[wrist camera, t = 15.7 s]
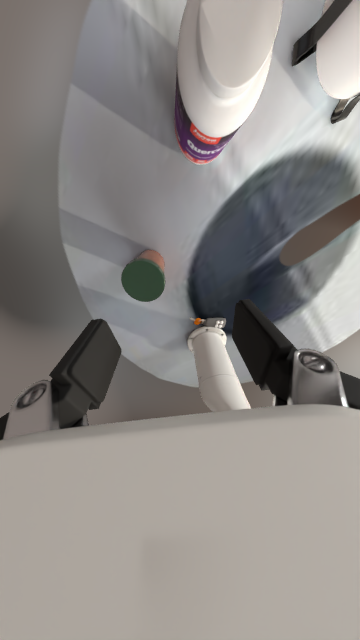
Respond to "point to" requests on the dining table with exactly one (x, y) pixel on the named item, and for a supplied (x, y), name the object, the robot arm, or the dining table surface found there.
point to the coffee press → (335, 53)
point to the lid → (143, 279)
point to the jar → (153, 257)
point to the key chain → (211, 322)
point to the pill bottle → (221, 70)
